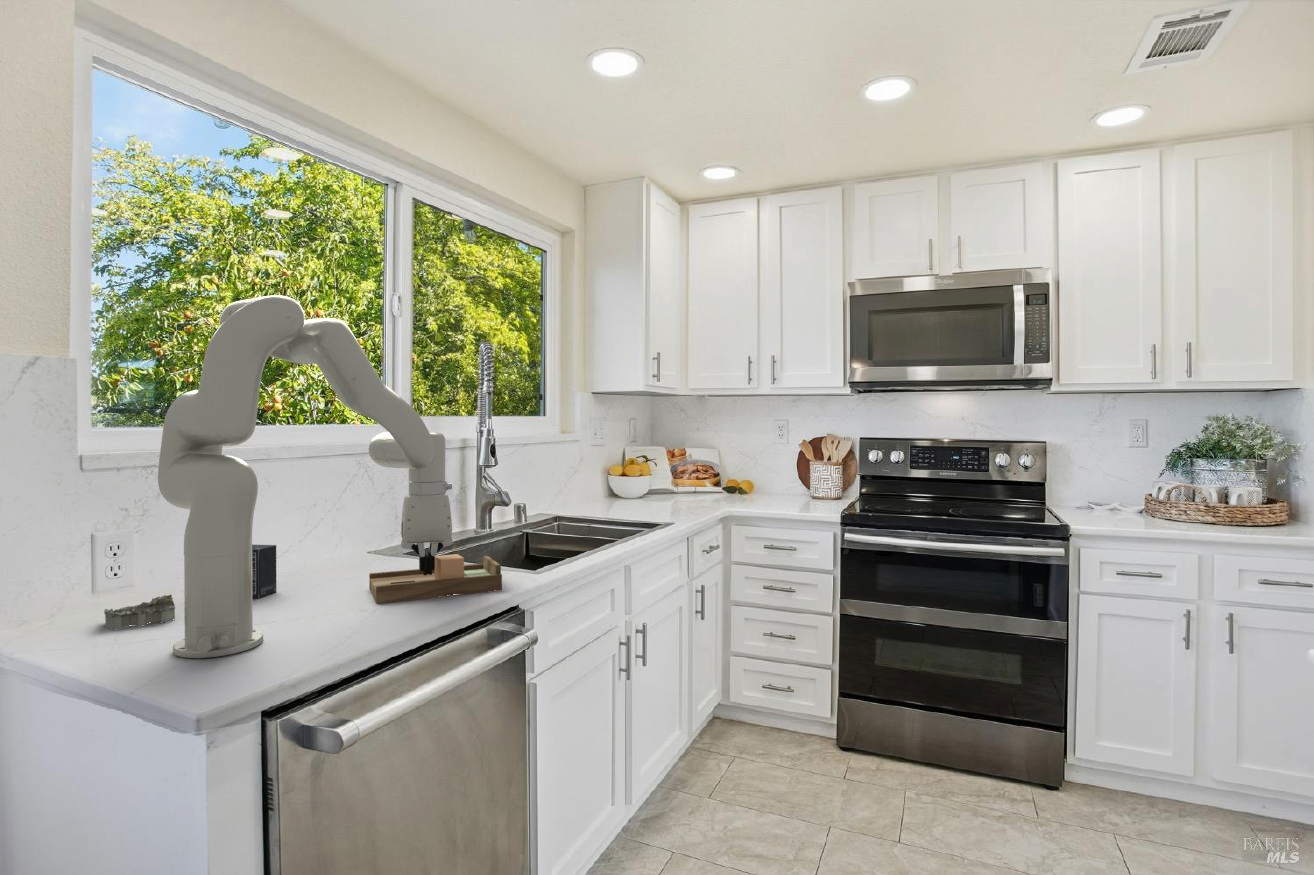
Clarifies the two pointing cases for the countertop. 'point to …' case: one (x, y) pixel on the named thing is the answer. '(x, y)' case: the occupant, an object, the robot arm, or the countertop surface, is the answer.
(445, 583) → the wooden desk organizer
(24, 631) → the countertop surface
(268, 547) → the small box
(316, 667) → the countertop surface
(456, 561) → the block
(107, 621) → the egg carton
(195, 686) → the countertop surface
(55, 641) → the countertop surface
